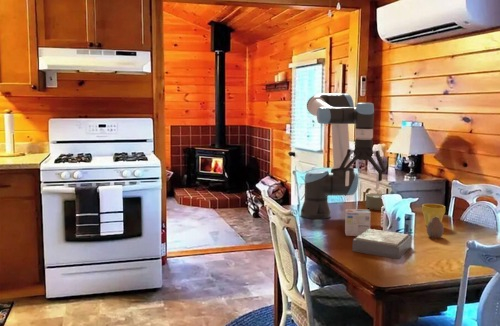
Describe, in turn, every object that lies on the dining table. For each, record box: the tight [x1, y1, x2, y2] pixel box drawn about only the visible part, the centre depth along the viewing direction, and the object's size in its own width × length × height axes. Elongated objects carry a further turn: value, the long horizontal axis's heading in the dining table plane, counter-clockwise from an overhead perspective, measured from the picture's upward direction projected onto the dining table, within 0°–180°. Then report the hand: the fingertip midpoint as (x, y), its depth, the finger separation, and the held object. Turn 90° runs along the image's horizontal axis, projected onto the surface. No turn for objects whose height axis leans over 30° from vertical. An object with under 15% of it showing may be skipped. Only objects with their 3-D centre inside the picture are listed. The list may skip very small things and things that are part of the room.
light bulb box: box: [344, 208, 372, 237], centre depth 217 cm, size 11×7×11 cm, turn 84°
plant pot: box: [421, 203, 446, 227], centre depth 233 cm, size 10×10×10 cm
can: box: [365, 193, 385, 211], centre depth 272 cm, size 12×12×7 cm
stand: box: [352, 228, 412, 260], centre depth 196 cm, size 18×18×5 cm
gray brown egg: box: [426, 217, 445, 239], centre depth 213 cm, size 7×7×9 cm
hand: (362, 187), depth 216 cm, fingers open, 13 cm apart
